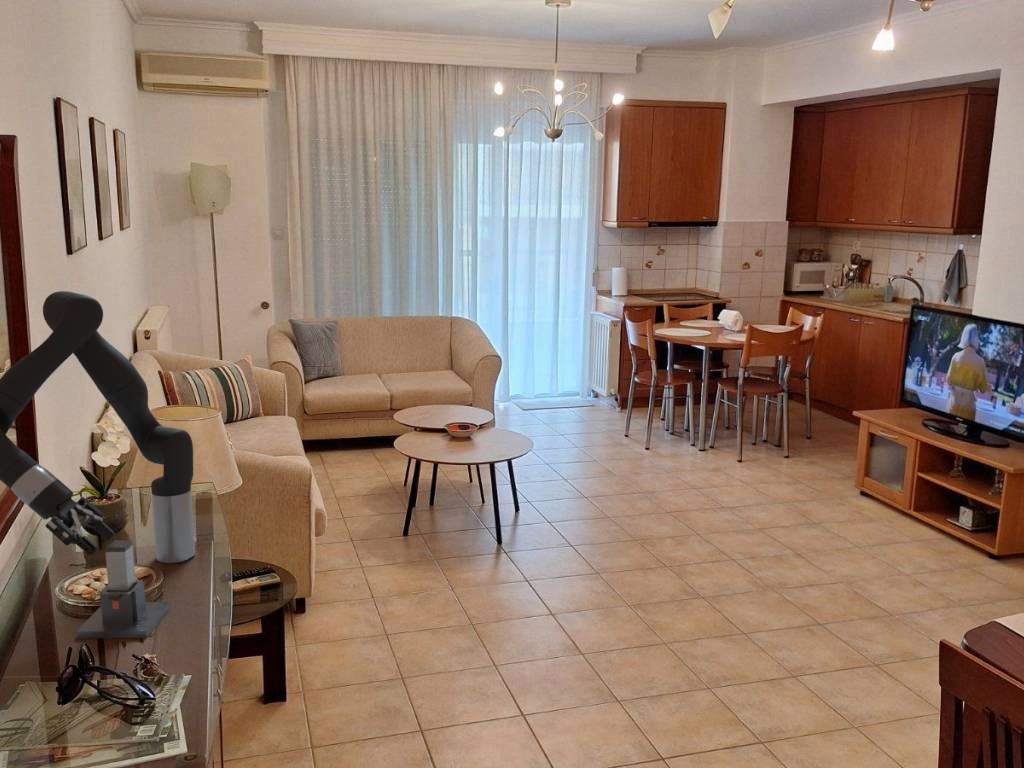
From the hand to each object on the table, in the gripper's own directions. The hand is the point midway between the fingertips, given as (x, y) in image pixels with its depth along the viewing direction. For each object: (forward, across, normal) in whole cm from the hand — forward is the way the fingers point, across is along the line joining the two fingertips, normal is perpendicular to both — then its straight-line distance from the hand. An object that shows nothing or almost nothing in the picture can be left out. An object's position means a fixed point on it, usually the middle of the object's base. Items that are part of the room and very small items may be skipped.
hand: (103, 544), depth 187 cm
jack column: (+13, 0, +9) cm, 16 cm away
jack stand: (+14, 0, +10) cm, 18 cm away
